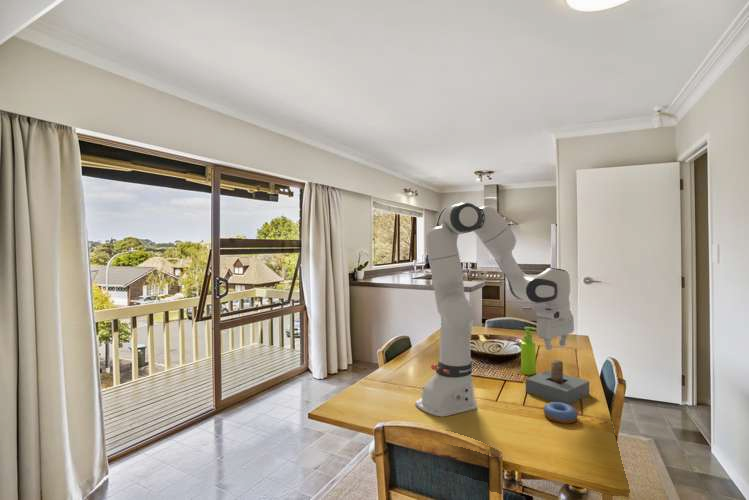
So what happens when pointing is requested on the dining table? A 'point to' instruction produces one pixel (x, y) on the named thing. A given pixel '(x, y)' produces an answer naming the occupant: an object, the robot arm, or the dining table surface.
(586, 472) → the dining table surface
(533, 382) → the socket block
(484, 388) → the dining table surface
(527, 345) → the soap dispenser
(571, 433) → the dining table surface
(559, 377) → the peg
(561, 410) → the doughnut
